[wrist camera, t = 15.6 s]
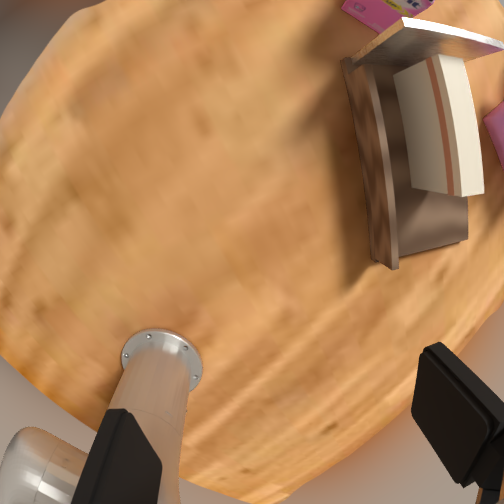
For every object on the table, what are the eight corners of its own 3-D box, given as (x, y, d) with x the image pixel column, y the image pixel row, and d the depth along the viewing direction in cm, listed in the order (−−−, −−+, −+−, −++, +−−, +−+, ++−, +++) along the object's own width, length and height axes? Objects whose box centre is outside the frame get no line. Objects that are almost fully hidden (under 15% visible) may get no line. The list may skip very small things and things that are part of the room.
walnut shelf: (462, 237, 42) (487, 246, 36) (371, 259, 42) (392, 274, 36) (440, 66, 35) (465, 57, 29) (340, 61, 35) (358, 45, 28)
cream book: (433, 185, 38) (484, 193, 28) (411, 188, 38) (461, 197, 28) (415, 76, 34) (462, 57, 23) (392, 74, 34) (437, 53, 23)
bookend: (443, 69, 34) (505, 49, 20) (352, 64, 33) (405, 26, 20) (441, 63, 33) (502, 42, 20) (351, 57, 33) (402, 17, 20)
